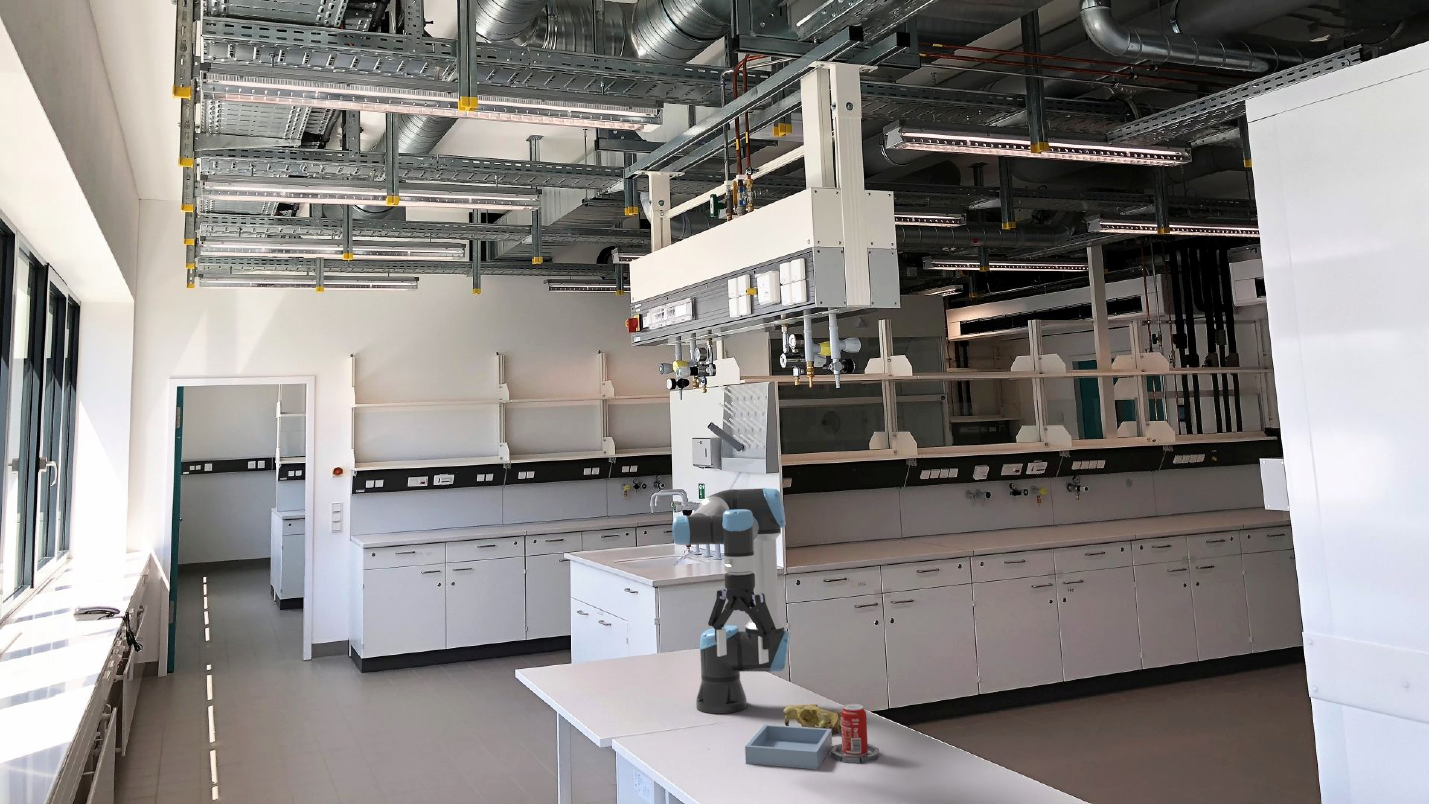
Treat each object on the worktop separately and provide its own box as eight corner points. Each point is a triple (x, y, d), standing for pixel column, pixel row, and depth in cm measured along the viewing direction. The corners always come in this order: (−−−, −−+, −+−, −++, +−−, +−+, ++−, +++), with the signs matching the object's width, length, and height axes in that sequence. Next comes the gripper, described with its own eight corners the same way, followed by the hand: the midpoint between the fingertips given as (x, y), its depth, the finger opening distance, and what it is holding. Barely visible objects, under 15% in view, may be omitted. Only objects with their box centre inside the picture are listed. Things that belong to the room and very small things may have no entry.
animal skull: (782, 726, 258) (782, 701, 258) (838, 725, 258) (837, 701, 259) (786, 738, 248) (786, 713, 248) (844, 737, 248) (844, 712, 248)
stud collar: (836, 745, 239) (836, 741, 239) (881, 749, 236) (881, 744, 236) (827, 760, 229) (827, 755, 229) (874, 764, 225) (874, 759, 225)
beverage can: (869, 751, 234) (868, 703, 235) (865, 760, 228) (863, 710, 229) (845, 749, 236) (843, 702, 237) (840, 758, 230) (838, 709, 231)
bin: (765, 740, 246) (764, 724, 246) (832, 745, 240) (831, 729, 240) (745, 763, 229) (745, 746, 229) (817, 769, 223) (816, 751, 223)
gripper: (692, 570, 236) (695, 655, 235) (769, 578, 219) (772, 669, 218) (712, 567, 241) (715, 649, 240) (788, 574, 225) (791, 662, 224)
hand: (742, 659), depth 229 cm, fingers open, 13 cm apart
